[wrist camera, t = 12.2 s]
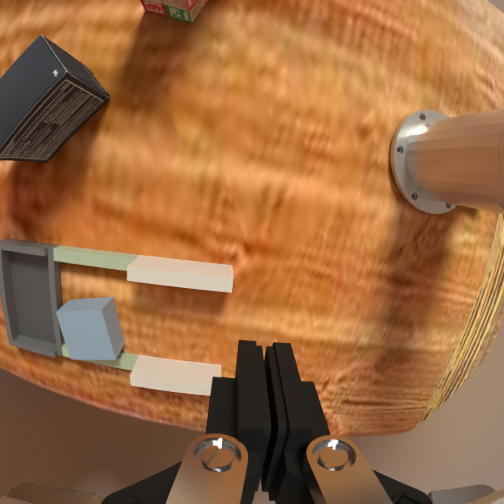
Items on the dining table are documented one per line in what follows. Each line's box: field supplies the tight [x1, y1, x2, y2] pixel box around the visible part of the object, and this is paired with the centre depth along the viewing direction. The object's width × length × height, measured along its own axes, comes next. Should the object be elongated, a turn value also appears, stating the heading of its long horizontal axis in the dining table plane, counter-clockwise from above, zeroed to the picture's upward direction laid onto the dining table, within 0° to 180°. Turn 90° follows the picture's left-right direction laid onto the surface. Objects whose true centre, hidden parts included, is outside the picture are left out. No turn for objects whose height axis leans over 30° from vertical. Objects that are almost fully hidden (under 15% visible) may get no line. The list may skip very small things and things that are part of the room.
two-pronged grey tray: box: [0, 238, 233, 396], centre depth 31 cm, size 29×14×4 cm, turn 83°
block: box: [56, 297, 125, 360], centre depth 32 cm, size 6×6×4 cm
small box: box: [0, 35, 110, 163], centre depth 23 cm, size 11×6×10 cm, turn 128°
